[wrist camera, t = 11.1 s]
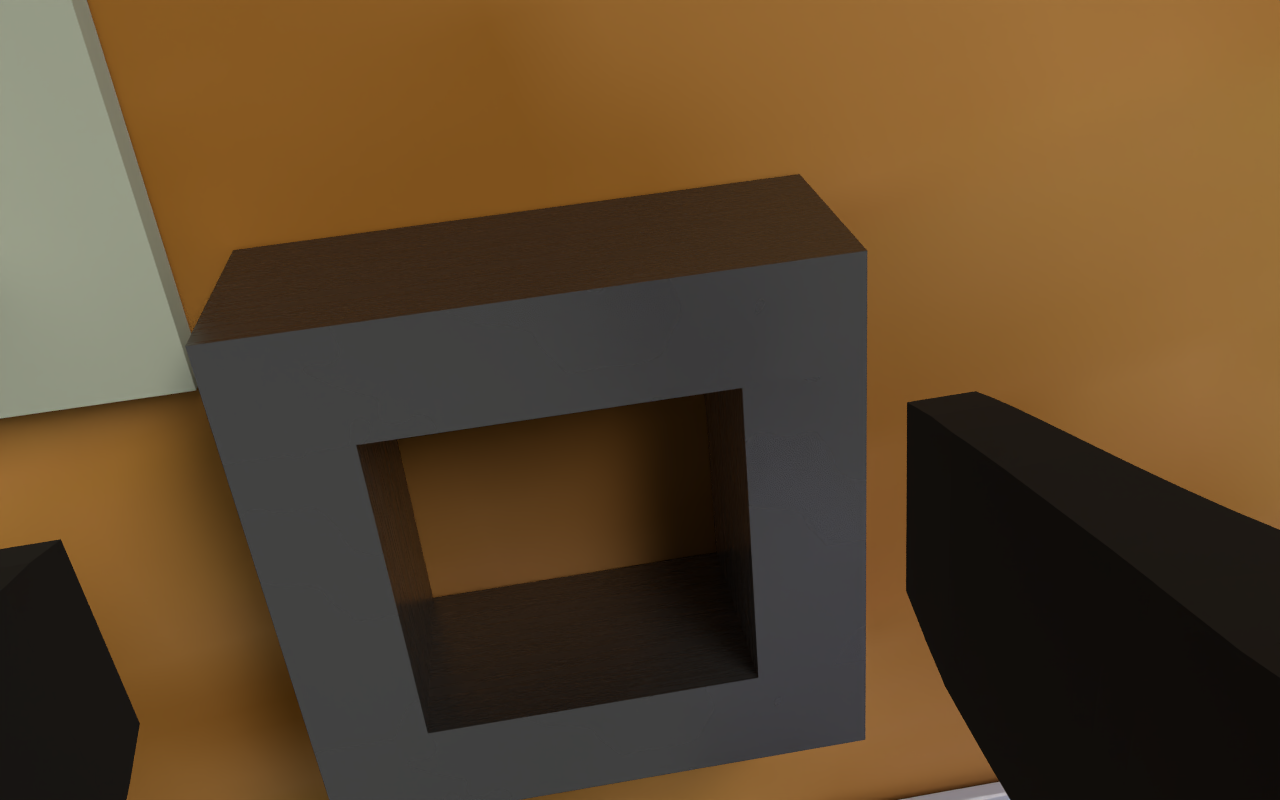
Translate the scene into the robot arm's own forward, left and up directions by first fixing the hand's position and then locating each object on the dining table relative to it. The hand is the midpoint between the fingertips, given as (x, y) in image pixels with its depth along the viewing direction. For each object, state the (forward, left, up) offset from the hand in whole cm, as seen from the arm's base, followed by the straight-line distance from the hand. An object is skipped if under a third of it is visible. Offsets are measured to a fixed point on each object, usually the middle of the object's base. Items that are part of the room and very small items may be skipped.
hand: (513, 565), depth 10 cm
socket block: (-4, 0, -9) cm, 10 cm away
